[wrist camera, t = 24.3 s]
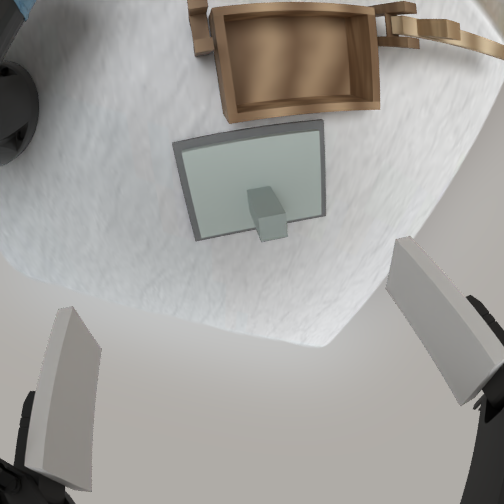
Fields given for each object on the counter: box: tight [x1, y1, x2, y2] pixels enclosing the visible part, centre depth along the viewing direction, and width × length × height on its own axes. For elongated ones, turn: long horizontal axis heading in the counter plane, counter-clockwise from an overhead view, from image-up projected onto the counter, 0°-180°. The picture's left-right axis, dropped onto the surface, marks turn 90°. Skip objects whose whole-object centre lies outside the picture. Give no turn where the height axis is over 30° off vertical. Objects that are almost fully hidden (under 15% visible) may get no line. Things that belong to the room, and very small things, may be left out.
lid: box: [182, 129, 321, 242], centre depth 38 cm, size 18×13×9 cm
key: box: [391, 16, 504, 60], centre depth 23 cm, size 23×2×7 cm, turn 97°
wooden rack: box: [187, 0, 420, 124], centre depth 28 cm, size 23×14×12 cm, turn 97°
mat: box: [172, 119, 326, 241], centre depth 42 cm, size 20×15×1 cm
